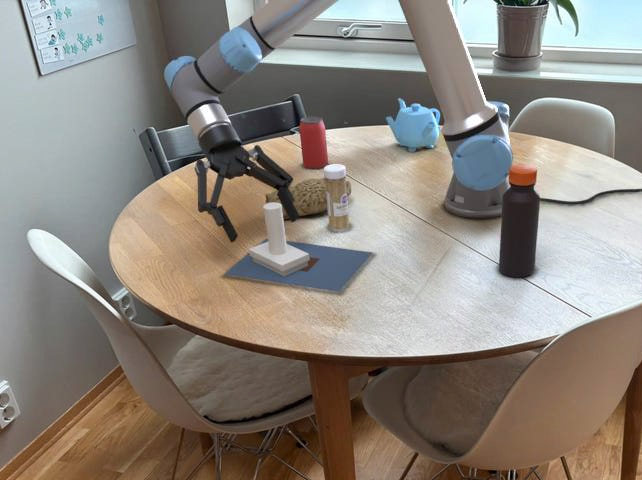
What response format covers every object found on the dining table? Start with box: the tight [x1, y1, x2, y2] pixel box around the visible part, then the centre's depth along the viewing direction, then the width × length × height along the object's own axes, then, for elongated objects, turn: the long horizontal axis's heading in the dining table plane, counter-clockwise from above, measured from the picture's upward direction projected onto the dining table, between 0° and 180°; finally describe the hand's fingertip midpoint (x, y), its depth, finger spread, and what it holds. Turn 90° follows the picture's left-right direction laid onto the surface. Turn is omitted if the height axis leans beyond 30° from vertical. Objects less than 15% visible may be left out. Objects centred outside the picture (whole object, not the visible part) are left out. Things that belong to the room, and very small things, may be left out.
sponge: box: [264, 177, 352, 220], centre depth 163 cm, size 13×8×20 cm
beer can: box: [299, 115, 329, 170], centre depth 187 cm, size 7×7×12 cm
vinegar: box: [498, 164, 541, 279], centre depth 133 cm, size 7×7×20 cm
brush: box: [248, 202, 310, 276], centre depth 139 cm, size 7×11×12 cm, turn 47°
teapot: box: [385, 97, 442, 153], centre depth 199 cm, size 15×14×11 cm
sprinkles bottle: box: [323, 163, 350, 231], centre depth 153 cm, size 5×5×14 cm
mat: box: [224, 238, 373, 293], centre depth 142 cm, size 24×17×1 cm
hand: (265, 228), depth 140 cm, fingers open, 13 cm apart
